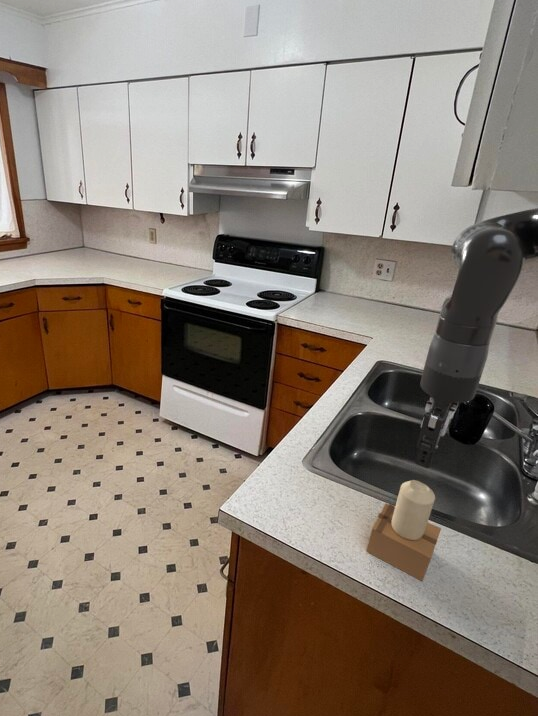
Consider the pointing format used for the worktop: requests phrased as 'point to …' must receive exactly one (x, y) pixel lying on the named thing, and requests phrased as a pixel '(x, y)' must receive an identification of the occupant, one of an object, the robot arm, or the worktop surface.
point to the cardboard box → (402, 545)
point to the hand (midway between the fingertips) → (428, 451)
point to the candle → (412, 509)
